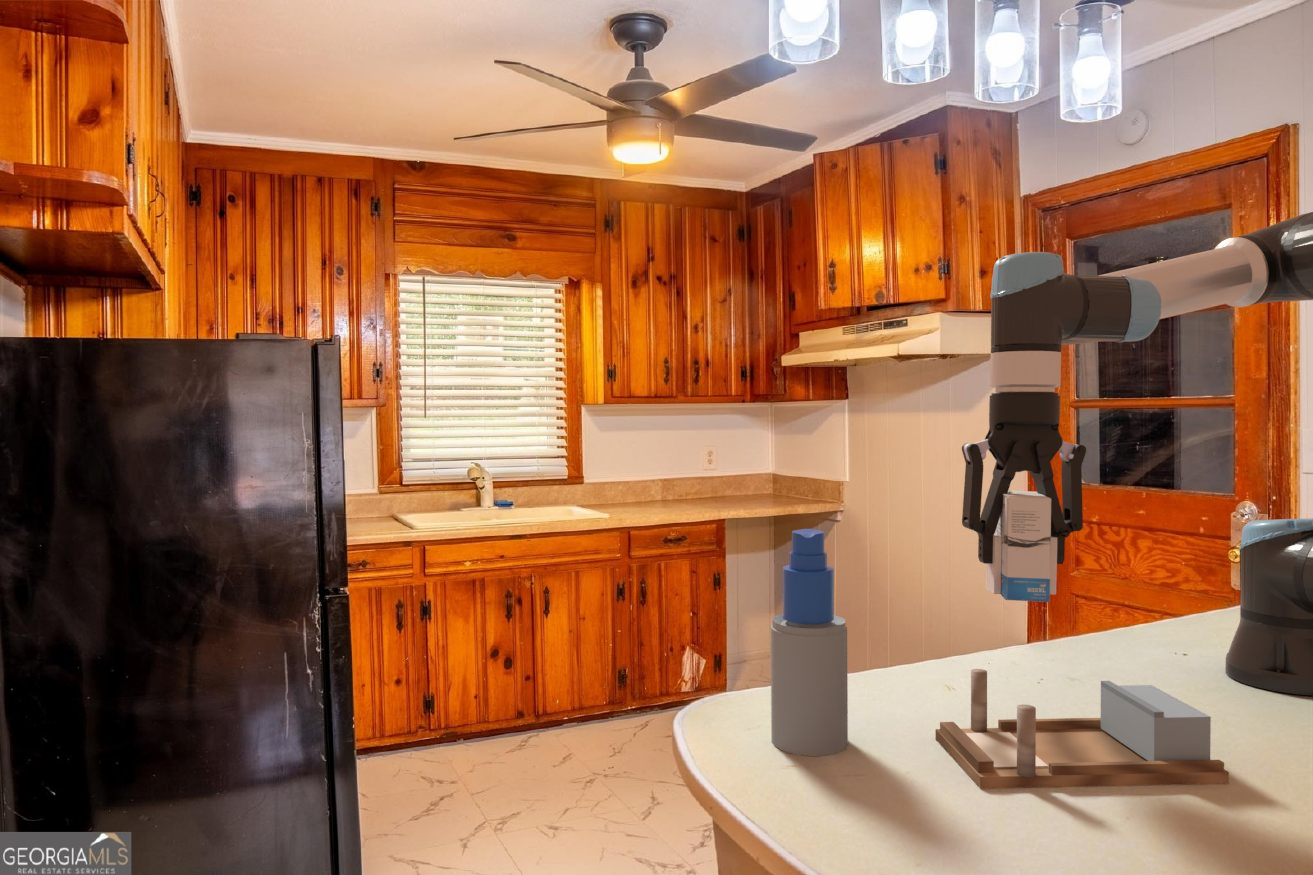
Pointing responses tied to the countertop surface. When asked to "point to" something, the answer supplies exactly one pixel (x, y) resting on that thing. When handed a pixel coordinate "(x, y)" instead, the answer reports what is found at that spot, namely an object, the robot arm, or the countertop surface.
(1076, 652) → the countertop surface
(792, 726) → the spray bottle
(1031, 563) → the ink box
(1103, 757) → the tray
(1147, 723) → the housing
